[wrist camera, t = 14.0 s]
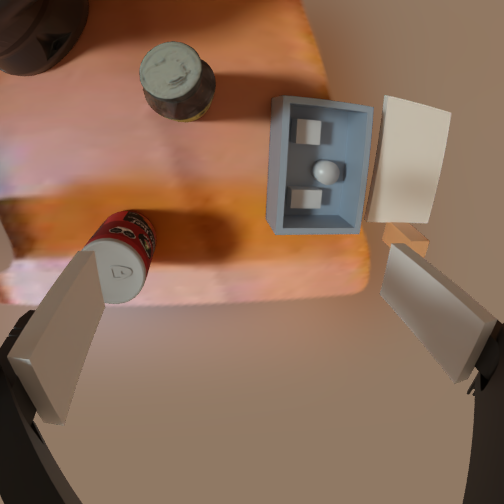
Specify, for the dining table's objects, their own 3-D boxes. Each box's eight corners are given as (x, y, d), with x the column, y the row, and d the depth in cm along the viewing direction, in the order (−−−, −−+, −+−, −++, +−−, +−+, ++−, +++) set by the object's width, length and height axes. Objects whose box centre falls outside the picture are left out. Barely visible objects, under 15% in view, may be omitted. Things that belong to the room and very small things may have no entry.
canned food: (166, 250, 43) (157, 292, 33) (116, 269, 43) (96, 313, 33) (143, 199, 40) (125, 228, 30) (92, 221, 39) (63, 255, 30)
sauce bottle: (211, 121, 37) (219, 126, 19) (160, 122, 36) (121, 130, 18) (212, 70, 34) (223, 29, 16) (161, 72, 33) (125, 33, 15)
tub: (271, 98, 37) (283, 95, 31) (351, 106, 38) (373, 107, 33) (265, 218, 43) (275, 234, 38) (341, 218, 45) (359, 233, 39)
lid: (380, 94, 37) (414, 100, 30) (442, 110, 39) (478, 121, 32) (356, 236, 48) (380, 264, 41) (415, 236, 49) (442, 261, 42)
